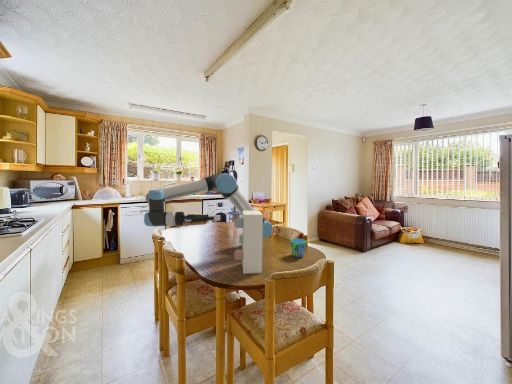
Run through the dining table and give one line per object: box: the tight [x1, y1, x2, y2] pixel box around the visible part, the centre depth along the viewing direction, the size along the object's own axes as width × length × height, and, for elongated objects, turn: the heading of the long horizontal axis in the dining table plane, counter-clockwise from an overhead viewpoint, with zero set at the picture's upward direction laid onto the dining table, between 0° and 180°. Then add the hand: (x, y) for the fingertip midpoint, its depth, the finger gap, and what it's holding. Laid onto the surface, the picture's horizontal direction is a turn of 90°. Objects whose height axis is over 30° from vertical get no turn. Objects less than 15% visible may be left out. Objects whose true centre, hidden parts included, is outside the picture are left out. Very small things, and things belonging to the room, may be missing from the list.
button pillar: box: [241, 210, 264, 275], centre depth 127 cm, size 10×14×32 cm
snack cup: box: [289, 238, 308, 258], centre depth 149 cm, size 16×10×10 cm
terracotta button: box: [233, 249, 243, 261], centre depth 127 cm, size 5×4×4 cm
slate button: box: [233, 218, 243, 229], centre depth 125 cm, size 5×4×4 cm
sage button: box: [238, 233, 243, 245], centre depth 126 cm, size 5×4×4 cm
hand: (220, 217), depth 123 cm, fingers closed
